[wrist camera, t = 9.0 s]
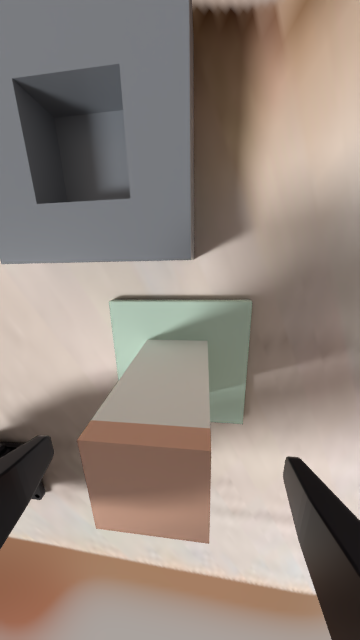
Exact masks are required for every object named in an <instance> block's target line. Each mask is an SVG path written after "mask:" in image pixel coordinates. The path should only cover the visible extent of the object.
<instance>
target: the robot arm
mask: <svg viewBox="0 0 360 640" xmlns="http://www.w3.org/2000/svg"><path fill="white" fill-rule="evenodd" d="M53 455H54V449H53V445H52V441H51V438H50V437H49V436H46V435H39V436H37V437H35V438H33V439H31V440H30V441H28V442H26V443H25V444H19V443H8V442H0V549H1V547H2V546H3V544H4V542H5V541H6V539H7V538H8V536H9V534H10V533H11V531H12V529H13V528H14V526H15V525H16V523H17V521H18V520H19V518H20V517H21V515H22V513H23V512H24V510H25V508H26V507H27V505H28V503H29V502H30V500H31V499H36V500H41V499H42V497H43V496H44V495H45V490H44V487H43V484H42V480H41V479H42V477H43V475H44V473H45V471H46V470H47V468H48V466H49V464H50V462H51V460H52V458H53ZM283 479H284V484H285V488H286V492H287V496H288V500H289V504H290V508H291V512H292V516H293V520H294V524H295V528H296V532H297V536H298V540H299V543H300V546H301V549H302V552H303V555H304V558H305V561H306V564H307V567H308V570H309V573H310V576H311V579H312V582H313V585H314V588H315V591H316V594H317V597H318V600H319V603H320V606H321V609H322V612H323V615H324V618H325V621H326V624H327V626H328V630H329V633H330V636H331V639H332V640H360V520H359V519H358V518H357V517H356V516H355V515H354V514H353V513H352V512H351V511H350V510H349V509H348V508H347V507H346V506H345V505H344V504H343V503H342V502H341V500H340V499H339V498H338V497H337V496H336V495H335V494H334V493H333V492H332V491H331V490H330V489H329V488H328V487H327V486H326V485H325V484H324V483H323V482H322V481H321V480H320V479H319V478H318V476H317V475H316V474H315V473H314V472H313V471H312V470H311V469H310V468H309V467H308V466H307V465H306V464H305V463H304V462H303V461H302V460H301V459H300V458H298V457H289V456H288V457H286V460H285V466H284V472H283Z"/></svg>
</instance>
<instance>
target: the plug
mask: <svg viewBox="0 0 360 640" xmlns="http://www.w3.org/2000/svg"><path fill="white" fill-rule="evenodd" d="M77 442H78V447H79V451H80V456H81V461H82V465H83V470H84V474H85V479H86V484H87V488H88V493H89V498H90V502H91V507H92V511H93V516H94V521H95V525H96V529H104V530H111V531H119V532H126V533H134V534H141V535H149V536H156V537H164V538H171V539H179V540H186V541H193V542H201V543H208V544H209V527H210V479H211V432H210V400H209V369H208V341H196V340H147V341H146V342H145V344H144V345H143V347H142V348H141V349H140V351H139V352H138V354H137V355H136V357H135V358H134V359H133V361H132V362H131V364H130V365H129V367H128V368H127V369H126V371H125V372H124V374H123V375H122V377H121V378H120V379H119V381H118V382H117V384H116V385H115V387H114V388H113V389H112V391H111V392H110V394H109V395H108V397H107V398H106V399H105V401H104V402H103V404H102V405H101V407H100V408H99V409H98V411H97V412H96V414H95V415H94V417H93V418H92V419H91V421H90V422H89V424H88V425H87V427H86V428H85V429H84V431H83V432H82V434H81V435H80V437H79V438H78V439H77Z"/></svg>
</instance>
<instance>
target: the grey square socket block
mask: <svg viewBox="0 0 360 640" xmlns="http://www.w3.org/2000/svg"><path fill="white" fill-rule="evenodd" d="M193 259H194V36H193V17H192V0H0V260H1V264H26V263H71V262H116V261H161V260H193Z"/></svg>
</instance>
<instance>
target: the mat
mask: <svg viewBox="0 0 360 640" xmlns="http://www.w3.org/2000/svg"><path fill="white" fill-rule="evenodd" d="M109 308H110V316H111V324H112V332H113V340H114V348H115V356H116V364H117V372H118V380H119V379H120V378H121V377H122V375H123V374H124V372H125V371H126V369H127V368H128V367H129V365H130V364H131V362H132V361H133V359H134V358H135V357H136V355H137V354H138V352H139V351H140V349H141V348H142V347H143V345H144V344H145V342H146V341H147V340H196V341H208V369H209V400H210V422H219V423H233V424H243V413H244V401H245V388H246V376H247V363H248V351H249V338H250V326H251V313H252V301H251V300H111V301H109Z"/></svg>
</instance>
